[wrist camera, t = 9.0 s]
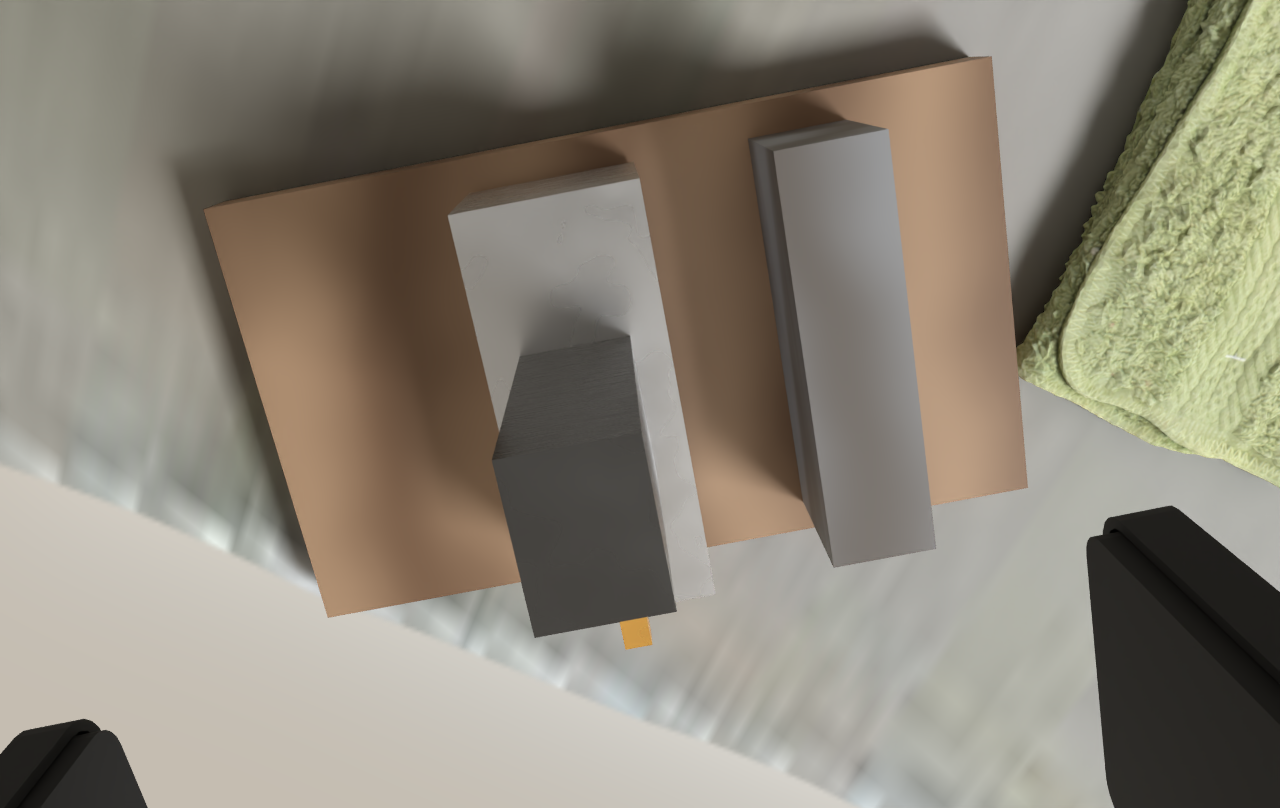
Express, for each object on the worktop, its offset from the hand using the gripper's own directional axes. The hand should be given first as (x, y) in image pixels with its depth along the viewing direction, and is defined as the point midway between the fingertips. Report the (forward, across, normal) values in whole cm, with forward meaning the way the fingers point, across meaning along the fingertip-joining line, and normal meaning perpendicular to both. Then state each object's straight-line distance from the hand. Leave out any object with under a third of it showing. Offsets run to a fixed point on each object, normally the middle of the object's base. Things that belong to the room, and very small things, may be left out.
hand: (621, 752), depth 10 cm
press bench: (+27, 0, +3) cm, 27 cm away
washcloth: (+28, -22, +3) cm, 35 cm away
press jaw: (+24, +2, +4) cm, 25 cm away
